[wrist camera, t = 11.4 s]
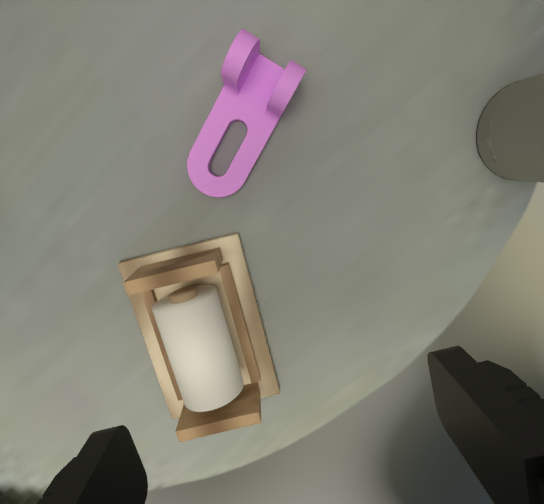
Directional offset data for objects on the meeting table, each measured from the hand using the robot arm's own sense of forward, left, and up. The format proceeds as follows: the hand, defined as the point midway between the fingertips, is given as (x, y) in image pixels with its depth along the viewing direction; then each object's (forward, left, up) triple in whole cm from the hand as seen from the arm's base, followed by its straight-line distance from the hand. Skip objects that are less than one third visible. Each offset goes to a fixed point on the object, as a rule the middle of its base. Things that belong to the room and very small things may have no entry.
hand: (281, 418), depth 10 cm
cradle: (+8, +9, -29) cm, 31 cm away
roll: (+8, +9, -28) cm, 30 cm away
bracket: (0, -9, -29) cm, 31 cm away
